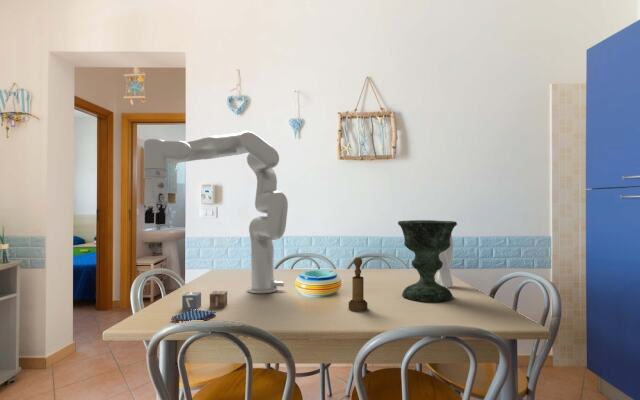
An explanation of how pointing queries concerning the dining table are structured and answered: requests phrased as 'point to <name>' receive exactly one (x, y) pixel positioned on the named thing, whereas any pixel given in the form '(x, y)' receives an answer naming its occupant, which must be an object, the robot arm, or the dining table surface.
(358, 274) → the brown tall piece
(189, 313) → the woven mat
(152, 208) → the robot arm
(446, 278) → the skyscraper
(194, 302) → the charcoal number block
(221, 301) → the walnut number block
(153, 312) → the dining table surface
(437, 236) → the goblet
